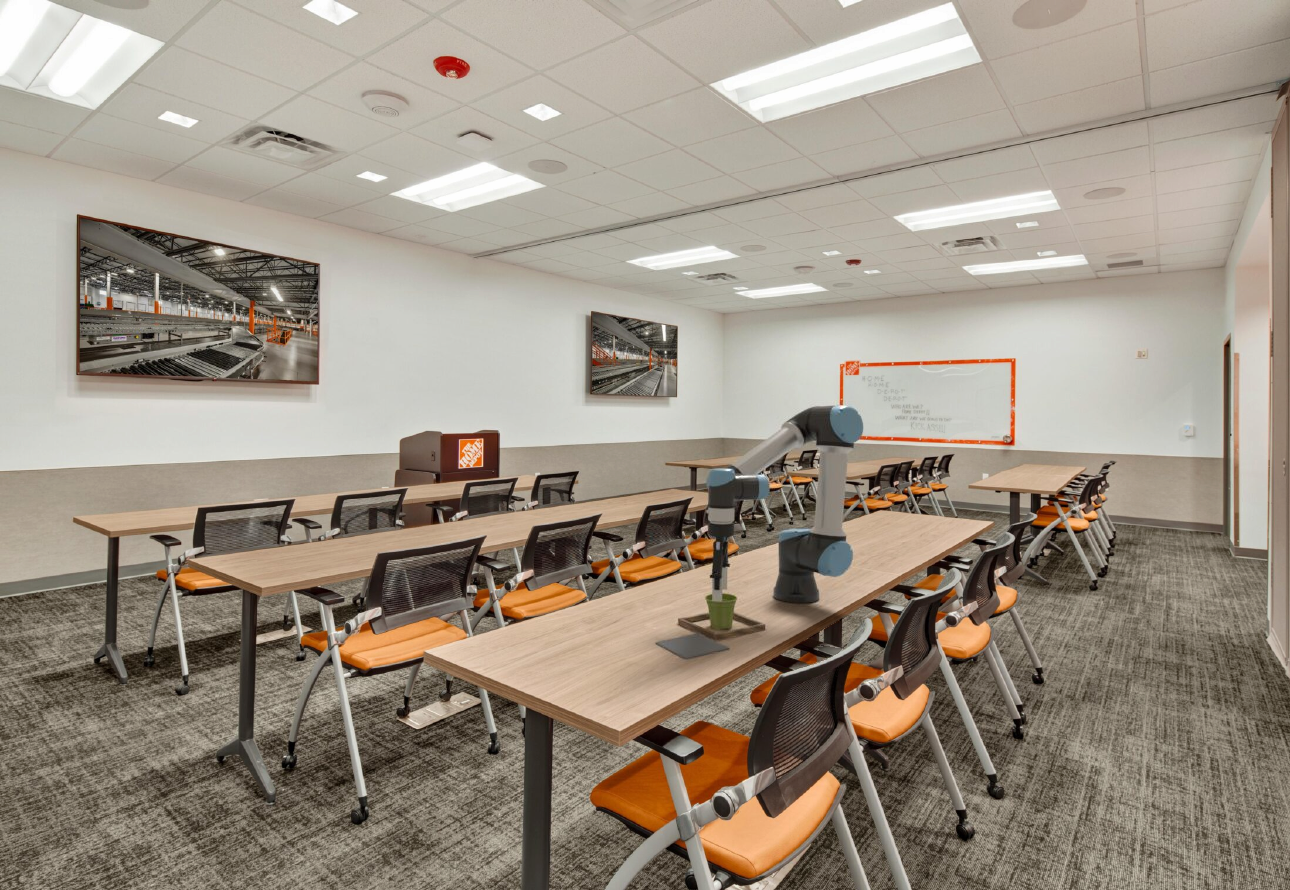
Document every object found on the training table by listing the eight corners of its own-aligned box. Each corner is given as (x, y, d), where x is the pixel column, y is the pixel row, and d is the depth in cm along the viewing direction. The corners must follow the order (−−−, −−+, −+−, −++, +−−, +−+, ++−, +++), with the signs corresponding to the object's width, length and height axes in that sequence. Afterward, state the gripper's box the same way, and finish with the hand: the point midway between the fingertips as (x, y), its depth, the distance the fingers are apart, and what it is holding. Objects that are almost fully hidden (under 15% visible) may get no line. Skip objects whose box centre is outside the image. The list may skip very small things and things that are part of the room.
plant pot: (699, 628, 188) (699, 599, 187) (712, 619, 196) (712, 591, 196) (730, 633, 183) (730, 603, 183) (741, 624, 192) (741, 595, 191)
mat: (697, 634, 183) (697, 632, 183) (729, 649, 171) (729, 647, 171) (655, 643, 175) (655, 642, 175) (685, 659, 163) (685, 658, 163)
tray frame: (725, 613, 202) (725, 608, 202) (765, 629, 187) (765, 624, 187) (678, 623, 193) (678, 618, 192) (715, 640, 177) (715, 635, 177)
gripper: (713, 515, 201) (712, 583, 202) (701, 527, 177) (700, 605, 178) (737, 516, 200) (736, 585, 200) (729, 529, 175) (728, 607, 176)
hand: (719, 594), depth 189 cm, fingers open, 13 cm apart
